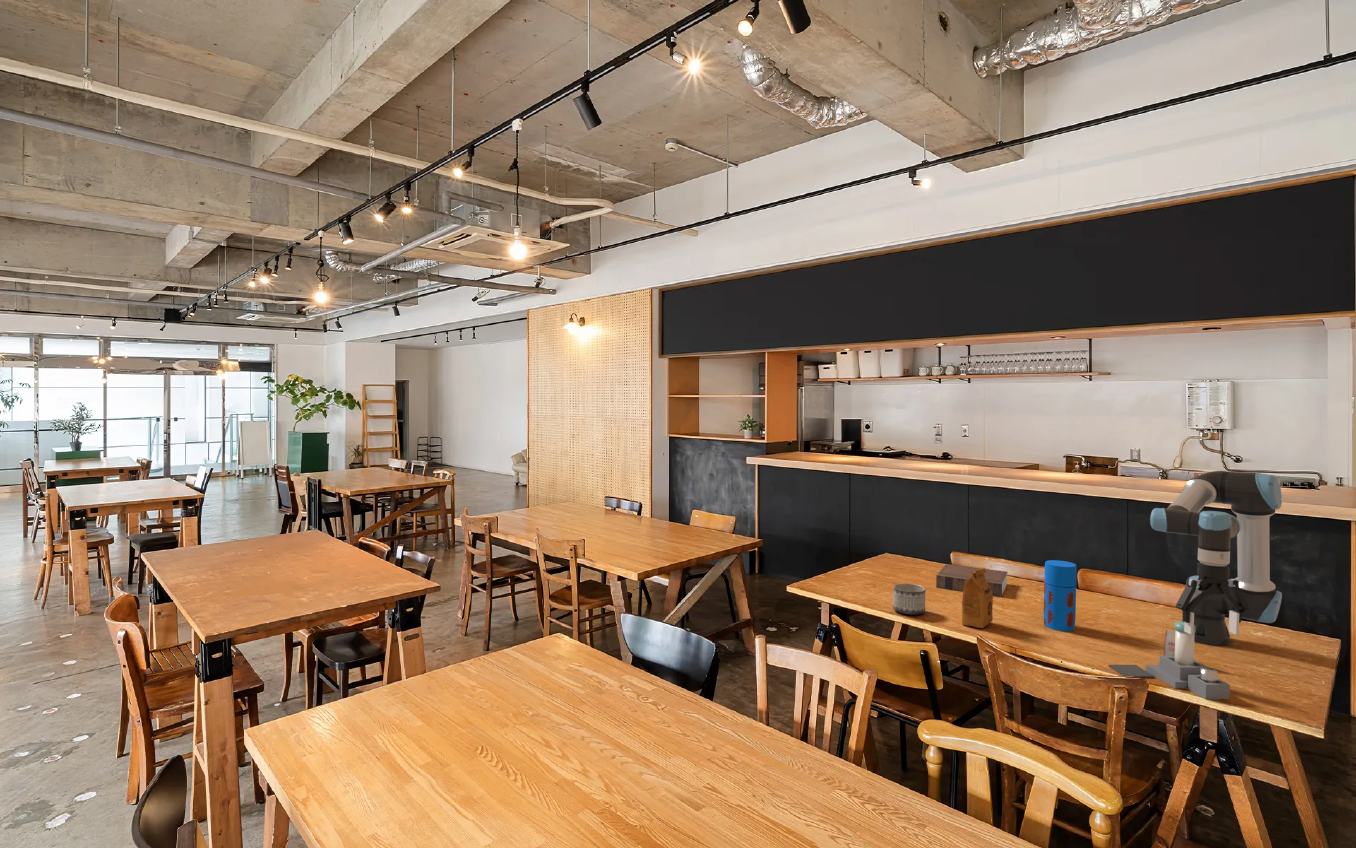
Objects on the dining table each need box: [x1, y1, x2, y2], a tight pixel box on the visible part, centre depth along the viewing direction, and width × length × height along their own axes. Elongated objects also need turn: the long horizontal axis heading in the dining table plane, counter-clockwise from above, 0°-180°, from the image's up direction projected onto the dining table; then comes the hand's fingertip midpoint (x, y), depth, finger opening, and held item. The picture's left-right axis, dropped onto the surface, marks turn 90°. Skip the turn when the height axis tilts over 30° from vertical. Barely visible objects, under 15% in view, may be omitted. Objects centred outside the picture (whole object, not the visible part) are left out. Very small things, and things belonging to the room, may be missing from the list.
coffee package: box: [961, 567, 994, 629], centre depth 262 cm, size 10×12×22 cm
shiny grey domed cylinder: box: [1200, 667, 1218, 683], centre depth 200 cm, size 4×4×5 cm
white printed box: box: [1163, 629, 1175, 656], centre depth 225 cm, size 4×7×10 cm, turn 39°
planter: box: [892, 582, 926, 616], centre depth 277 cm, size 13×13×10 cm
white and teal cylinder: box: [1174, 621, 1196, 666], centre depth 210 cm, size 5×5×16 cm
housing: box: [1145, 655, 1231, 700], centre depth 207 cm, size 20×14×6 cm
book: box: [935, 563, 1009, 598], centre depth 315 cm, size 24×28×6 cm
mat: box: [1108, 664, 1156, 679], centre depth 217 cm, size 9×9×1 cm
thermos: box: [1043, 559, 1078, 632], centre depth 259 cm, size 11×11×25 cm
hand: (1211, 633), depth 200 cm, fingers open, 13 cm apart
